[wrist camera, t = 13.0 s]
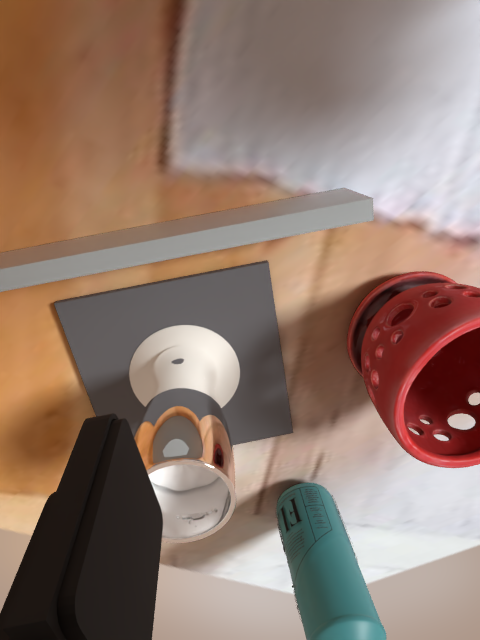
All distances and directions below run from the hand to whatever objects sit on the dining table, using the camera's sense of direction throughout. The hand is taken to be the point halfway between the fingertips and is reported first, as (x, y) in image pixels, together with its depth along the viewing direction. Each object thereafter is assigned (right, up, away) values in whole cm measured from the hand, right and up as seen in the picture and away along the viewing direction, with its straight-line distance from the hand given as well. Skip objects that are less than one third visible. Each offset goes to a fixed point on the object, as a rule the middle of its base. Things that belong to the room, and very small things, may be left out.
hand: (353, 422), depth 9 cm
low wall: (-8, +9, +26) cm, 28 cm away
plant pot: (+13, +2, +32) cm, 34 cm away
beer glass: (-7, -3, +30) cm, 31 cm away
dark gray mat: (-7, -3, +31) cm, 32 cm away
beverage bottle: (+4, -17, +39) cm, 42 cm away
